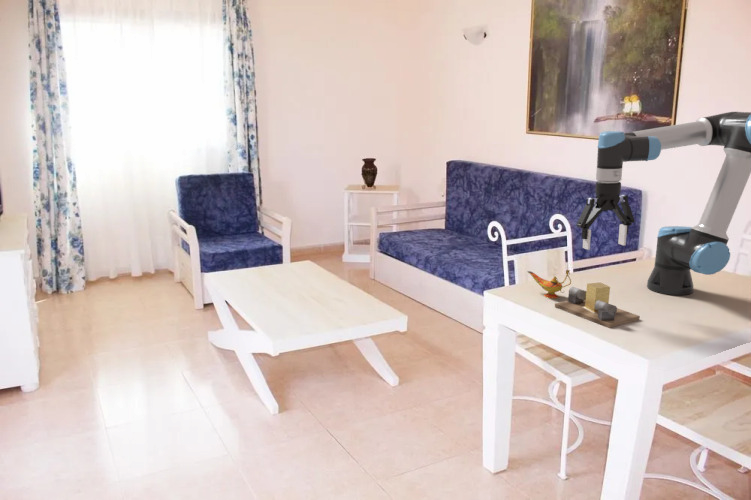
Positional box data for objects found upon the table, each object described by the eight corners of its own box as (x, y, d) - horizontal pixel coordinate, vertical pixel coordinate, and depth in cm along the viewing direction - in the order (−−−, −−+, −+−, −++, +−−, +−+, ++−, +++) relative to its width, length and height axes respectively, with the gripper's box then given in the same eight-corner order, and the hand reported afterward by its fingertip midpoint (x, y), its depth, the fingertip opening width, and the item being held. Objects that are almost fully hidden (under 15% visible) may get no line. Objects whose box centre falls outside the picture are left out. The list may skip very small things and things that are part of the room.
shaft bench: (639, 319, 194) (641, 301, 192) (609, 327, 187) (610, 309, 185) (584, 300, 212) (585, 283, 210) (554, 306, 205) (556, 289, 204)
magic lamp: (532, 287, 226) (534, 258, 223) (575, 299, 213) (577, 268, 210) (520, 290, 222) (522, 261, 219) (563, 303, 208) (566, 272, 206)
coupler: (598, 305, 202) (600, 282, 200) (607, 310, 197) (610, 286, 195) (584, 307, 201) (587, 283, 199) (594, 312, 196) (596, 288, 194)
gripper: (581, 185, 188) (578, 253, 193) (649, 180, 195) (644, 245, 200) (567, 182, 195) (564, 247, 200) (633, 177, 202) (628, 240, 207)
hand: (604, 246), depth 200 cm, fingers open, 13 cm apart
